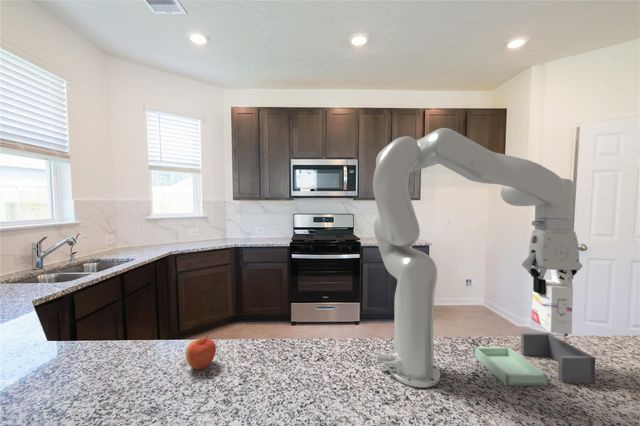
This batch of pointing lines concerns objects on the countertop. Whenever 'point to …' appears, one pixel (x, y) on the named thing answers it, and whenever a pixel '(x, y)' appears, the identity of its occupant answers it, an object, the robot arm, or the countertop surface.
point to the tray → (510, 366)
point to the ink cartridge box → (554, 304)
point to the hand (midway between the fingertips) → (551, 292)
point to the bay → (561, 357)
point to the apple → (200, 353)
